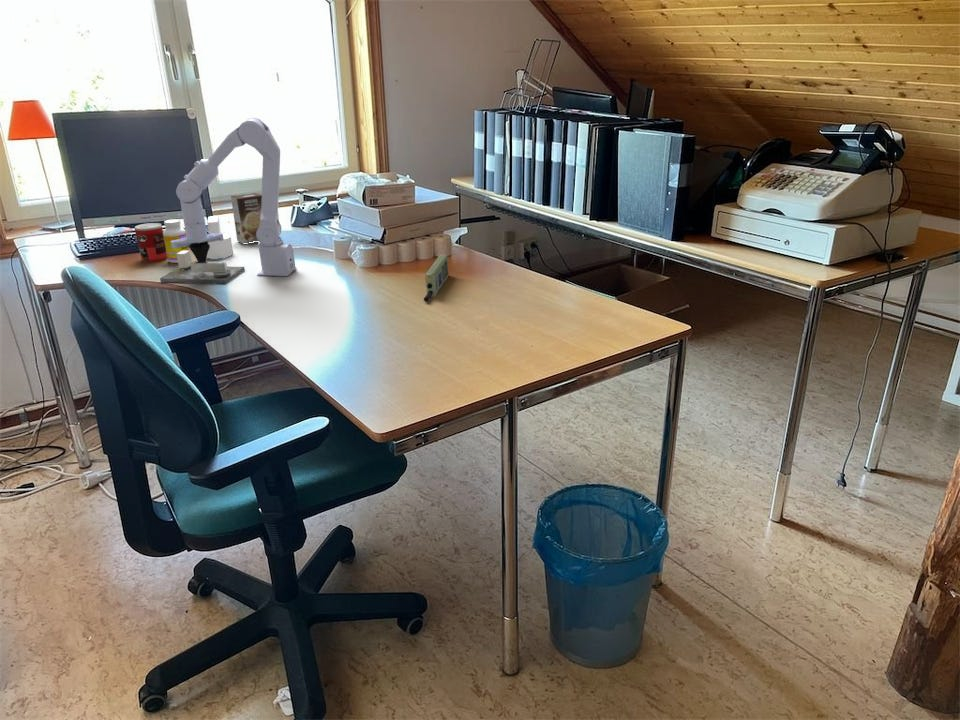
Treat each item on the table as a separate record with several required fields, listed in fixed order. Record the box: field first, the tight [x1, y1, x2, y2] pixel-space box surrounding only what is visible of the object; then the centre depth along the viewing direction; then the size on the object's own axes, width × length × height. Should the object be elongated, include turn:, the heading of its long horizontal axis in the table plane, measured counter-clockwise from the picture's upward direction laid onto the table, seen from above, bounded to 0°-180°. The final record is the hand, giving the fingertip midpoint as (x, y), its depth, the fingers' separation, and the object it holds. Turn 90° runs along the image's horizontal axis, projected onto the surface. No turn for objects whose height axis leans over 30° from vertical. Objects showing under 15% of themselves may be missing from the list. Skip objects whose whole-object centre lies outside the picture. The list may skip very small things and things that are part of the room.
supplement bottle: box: [163, 219, 190, 264], centre depth 221 cm, size 7×7×13 cm
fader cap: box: [177, 250, 193, 268], centre depth 211 cm, size 2×4×4 cm, turn 173°
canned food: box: [134, 222, 168, 263], centre depth 223 cm, size 8×8×11 cm
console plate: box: [159, 265, 246, 285], centre depth 208 cm, size 20×13×1 cm, turn 83°
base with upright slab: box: [206, 215, 234, 260], centre depth 226 cm, size 9×9×12 cm
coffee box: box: [230, 192, 262, 244], centre depth 241 cm, size 9×6×16 cm
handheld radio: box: [423, 253, 450, 303], centre depth 194 cm, size 7×3×25 cm
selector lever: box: [190, 260, 231, 276], centre depth 204 cm, size 11×5×4 cm, turn 89°
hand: (202, 267), depth 207 cm, fingers closed
